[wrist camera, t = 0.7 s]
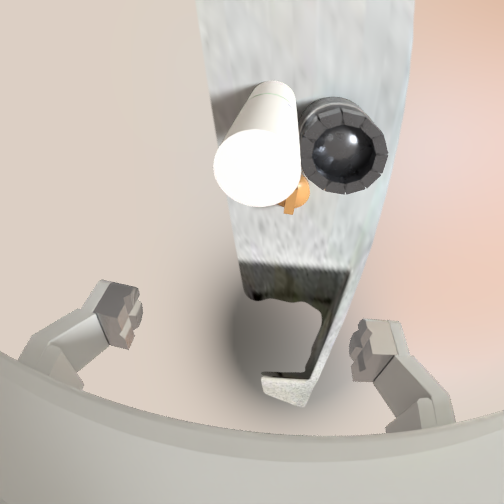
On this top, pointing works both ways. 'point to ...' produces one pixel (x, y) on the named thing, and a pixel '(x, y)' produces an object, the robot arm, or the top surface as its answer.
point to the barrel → (340, 146)
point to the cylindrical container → (261, 148)
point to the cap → (296, 196)
